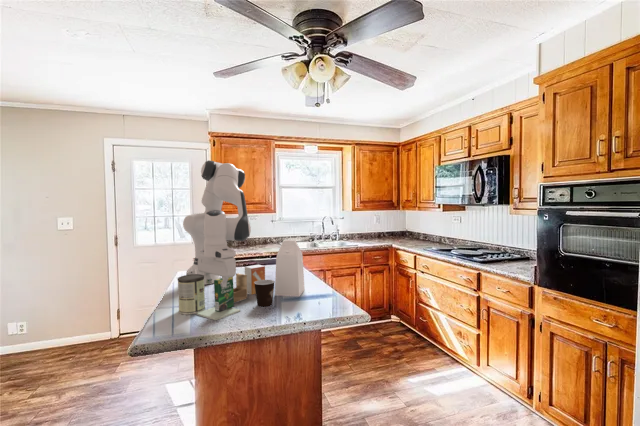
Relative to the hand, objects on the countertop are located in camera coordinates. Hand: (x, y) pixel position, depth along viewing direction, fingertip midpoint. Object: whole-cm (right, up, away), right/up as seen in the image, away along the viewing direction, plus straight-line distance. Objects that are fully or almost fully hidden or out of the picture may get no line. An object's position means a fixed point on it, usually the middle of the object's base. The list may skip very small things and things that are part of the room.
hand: (216, 285), depth 128 cm
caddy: (+2, -11, +16) cm, 20 cm away
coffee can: (-11, -12, +4) cm, 17 cm away
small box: (+10, -11, +29) cm, 33 cm away
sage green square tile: (+1, -11, 0) cm, 11 cm away
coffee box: (+3, -11, +3) cm, 12 cm away
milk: (+27, -10, +28) cm, 41 cm away
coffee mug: (+19, -11, +11) cm, 25 cm away
